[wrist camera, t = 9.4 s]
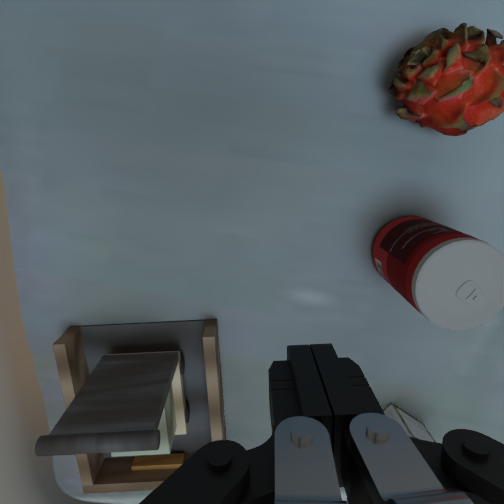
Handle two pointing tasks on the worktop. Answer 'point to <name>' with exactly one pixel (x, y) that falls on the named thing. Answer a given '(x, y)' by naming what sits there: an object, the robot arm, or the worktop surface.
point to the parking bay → (195, 389)
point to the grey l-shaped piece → (124, 408)
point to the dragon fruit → (452, 80)
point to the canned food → (441, 271)
